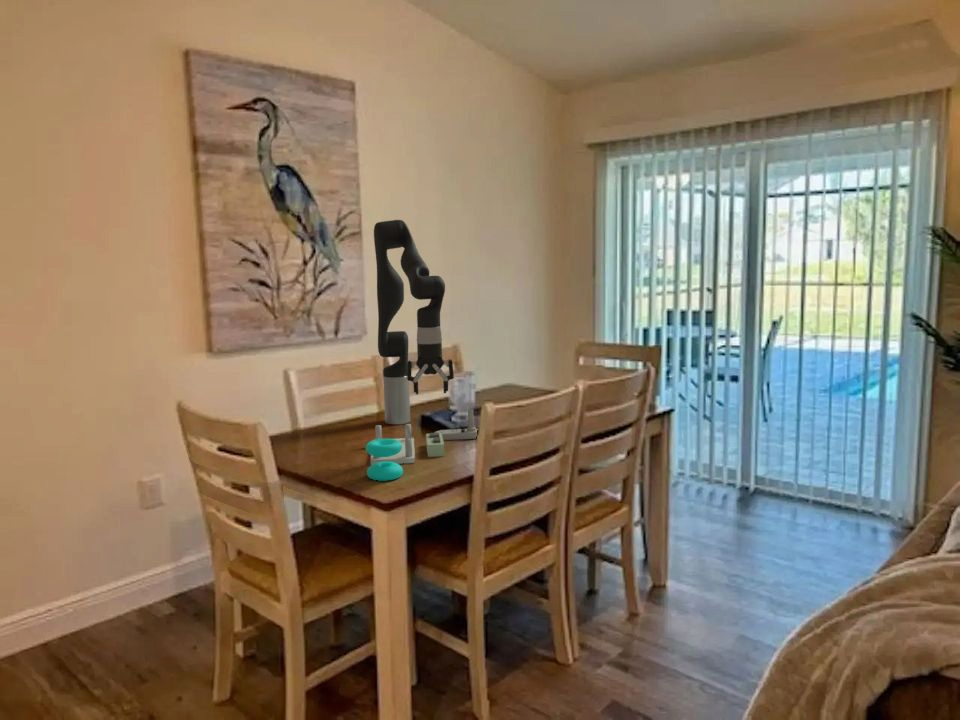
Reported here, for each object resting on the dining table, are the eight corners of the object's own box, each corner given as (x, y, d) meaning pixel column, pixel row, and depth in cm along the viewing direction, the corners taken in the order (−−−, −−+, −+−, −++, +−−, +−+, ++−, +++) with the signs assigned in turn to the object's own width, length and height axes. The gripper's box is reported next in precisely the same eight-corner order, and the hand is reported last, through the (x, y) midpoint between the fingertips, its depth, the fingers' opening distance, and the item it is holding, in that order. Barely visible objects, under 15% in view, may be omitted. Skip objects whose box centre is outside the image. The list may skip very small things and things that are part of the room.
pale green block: (426, 445, 242) (425, 431, 241) (441, 445, 242) (441, 430, 241) (428, 457, 228) (427, 442, 227) (444, 457, 228) (444, 441, 228)
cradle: (373, 444, 244) (373, 424, 243) (413, 442, 245) (413, 422, 244) (370, 465, 220) (369, 443, 219) (415, 462, 222) (414, 441, 221)
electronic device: (433, 409, 251) (478, 407, 251) (435, 437, 253) (480, 435, 252) (432, 413, 246) (478, 410, 246) (434, 442, 247) (480, 439, 247)
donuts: (406, 437, 211) (395, 447, 202) (407, 472, 213) (397, 483, 203) (372, 436, 213) (360, 446, 203) (373, 470, 215) (362, 481, 205)
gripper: (452, 339, 234) (453, 390, 236) (406, 340, 232) (408, 392, 235) (453, 342, 226) (454, 395, 229) (405, 343, 225) (407, 396, 227)
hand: (431, 393), depth 232 cm, fingers open, 8 cm apart
